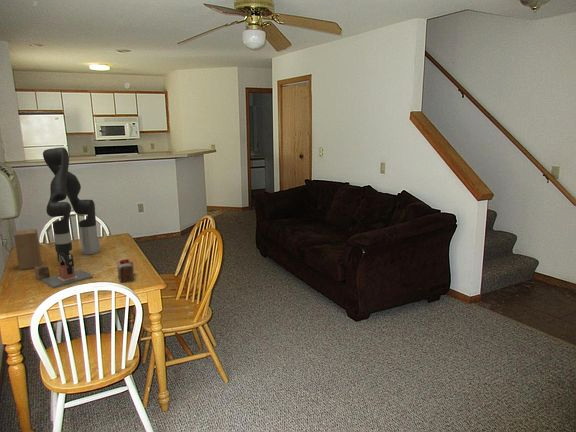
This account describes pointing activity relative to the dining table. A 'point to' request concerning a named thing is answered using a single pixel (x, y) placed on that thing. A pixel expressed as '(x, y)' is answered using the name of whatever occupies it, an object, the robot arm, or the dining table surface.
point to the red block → (65, 272)
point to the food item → (125, 270)
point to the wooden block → (27, 249)
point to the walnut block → (42, 272)
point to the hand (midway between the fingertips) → (66, 272)
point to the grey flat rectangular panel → (57, 281)
